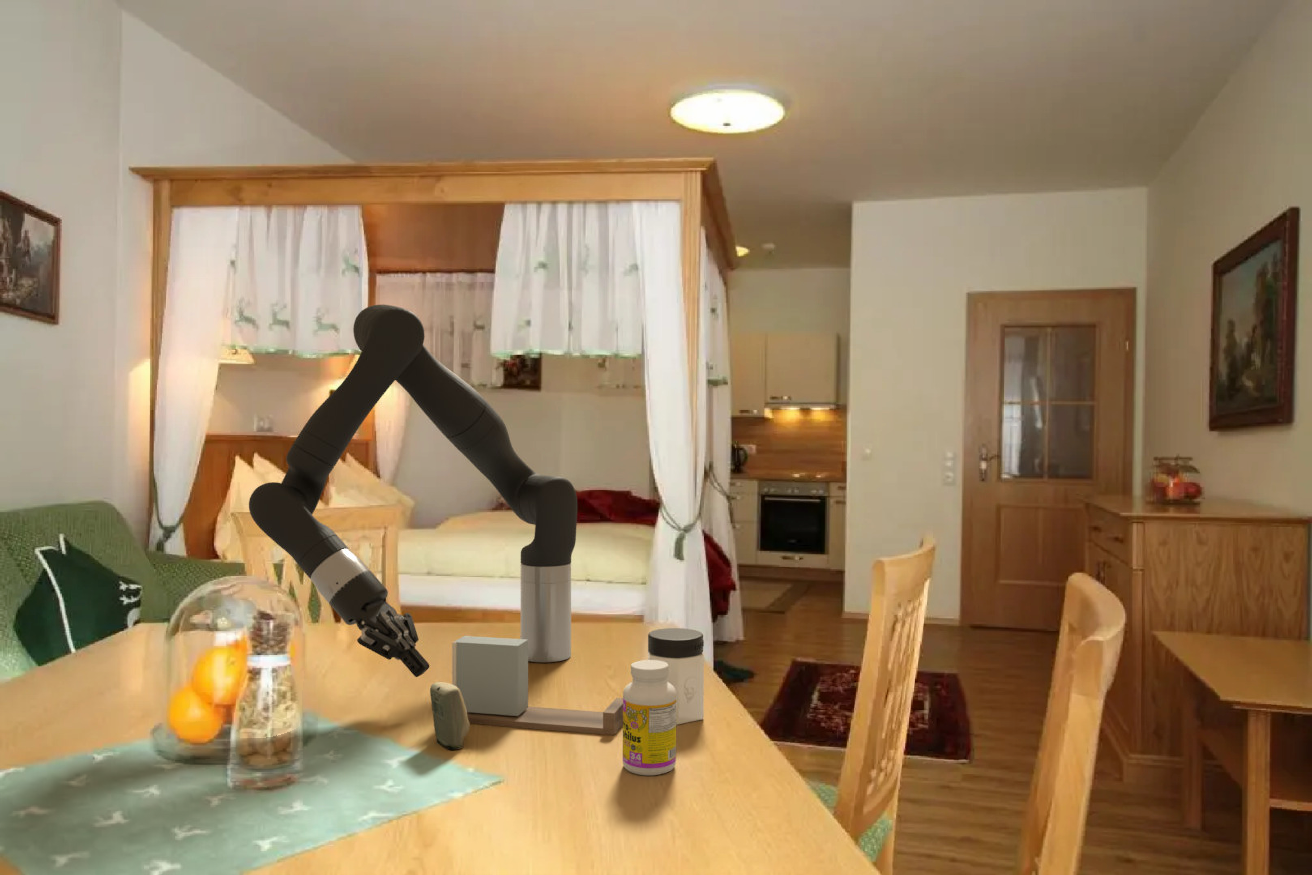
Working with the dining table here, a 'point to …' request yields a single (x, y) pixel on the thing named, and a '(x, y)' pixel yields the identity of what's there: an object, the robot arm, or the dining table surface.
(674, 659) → the jar
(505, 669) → the grey square block
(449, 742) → the beige rounded block
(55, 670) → the dining table surface
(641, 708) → the supplement bottle
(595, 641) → the dining table surface
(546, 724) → the rail
